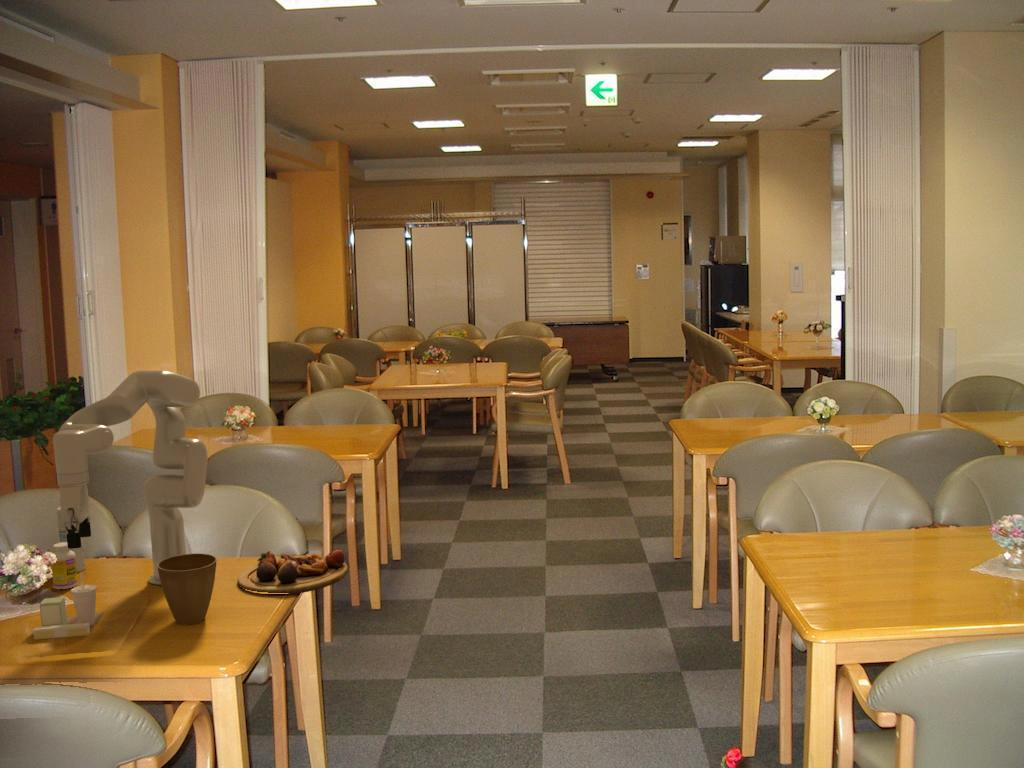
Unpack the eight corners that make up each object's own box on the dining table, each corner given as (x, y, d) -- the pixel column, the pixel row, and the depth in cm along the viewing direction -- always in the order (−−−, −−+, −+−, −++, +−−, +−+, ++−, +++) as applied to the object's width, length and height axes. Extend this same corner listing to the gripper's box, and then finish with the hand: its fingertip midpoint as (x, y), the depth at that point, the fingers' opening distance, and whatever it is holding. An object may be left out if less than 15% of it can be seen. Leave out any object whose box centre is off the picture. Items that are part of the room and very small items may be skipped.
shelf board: (104, 616, 272) (104, 612, 272) (88, 638, 256) (88, 635, 256) (53, 620, 270) (53, 616, 270) (34, 643, 254) (34, 639, 254)
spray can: (89, 568, 314) (84, 506, 311) (70, 574, 309) (64, 511, 306) (77, 565, 318) (71, 503, 315) (58, 571, 313) (52, 508, 310)
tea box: (67, 622, 265) (64, 597, 264) (62, 628, 261) (59, 602, 260) (47, 624, 265) (44, 598, 264) (42, 630, 261) (39, 603, 260)
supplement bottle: (68, 590, 294) (64, 548, 292) (48, 590, 295) (44, 547, 294) (82, 583, 300) (78, 541, 299) (63, 582, 302) (59, 540, 300)
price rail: (90, 635, 258) (89, 622, 258) (88, 639, 256) (87, 625, 256) (37, 640, 256) (35, 626, 256) (34, 643, 254) (32, 630, 254)
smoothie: (70, 629, 260) (65, 577, 258) (78, 620, 267) (73, 569, 265) (95, 627, 261) (91, 575, 259) (103, 618, 267) (98, 567, 265)
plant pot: (166, 634, 257) (161, 574, 255) (157, 616, 270) (153, 558, 268) (226, 623, 264) (221, 563, 262) (214, 606, 277) (210, 549, 275)
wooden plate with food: (357, 560, 315) (355, 534, 314) (336, 594, 283) (334, 565, 282) (255, 565, 316) (253, 539, 315) (223, 599, 284) (221, 570, 283)
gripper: (67, 471, 268) (73, 534, 271) (47, 487, 251) (55, 553, 254) (96, 469, 269) (103, 531, 272) (79, 485, 252) (86, 551, 255)
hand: (79, 542), depth 263 cm, fingers open, 9 cm apart
